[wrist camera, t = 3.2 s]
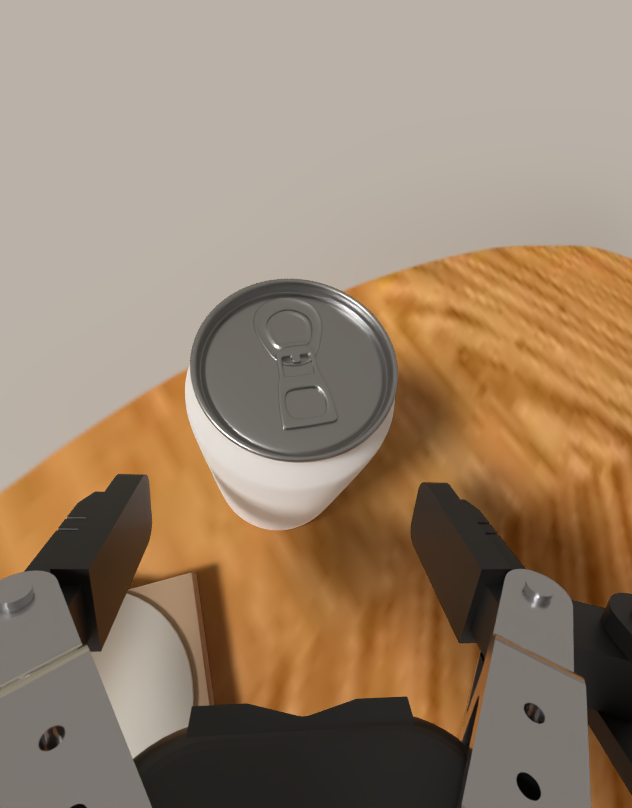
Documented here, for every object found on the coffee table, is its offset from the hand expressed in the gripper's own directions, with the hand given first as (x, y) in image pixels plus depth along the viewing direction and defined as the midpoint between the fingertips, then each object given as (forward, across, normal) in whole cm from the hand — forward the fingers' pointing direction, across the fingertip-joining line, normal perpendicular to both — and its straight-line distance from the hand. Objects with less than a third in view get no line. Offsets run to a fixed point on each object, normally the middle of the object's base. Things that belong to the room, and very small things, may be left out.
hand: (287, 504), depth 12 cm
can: (+9, 0, +4) cm, 10 cm away
